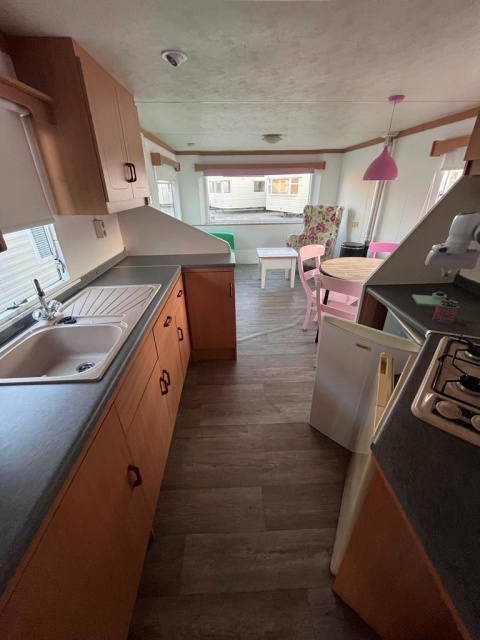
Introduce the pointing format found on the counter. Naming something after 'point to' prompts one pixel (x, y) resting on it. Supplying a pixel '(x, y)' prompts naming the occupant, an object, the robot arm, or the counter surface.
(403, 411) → the counter surface
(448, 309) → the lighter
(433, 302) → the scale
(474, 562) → the counter surface
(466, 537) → the counter surface
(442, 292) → the tare button
